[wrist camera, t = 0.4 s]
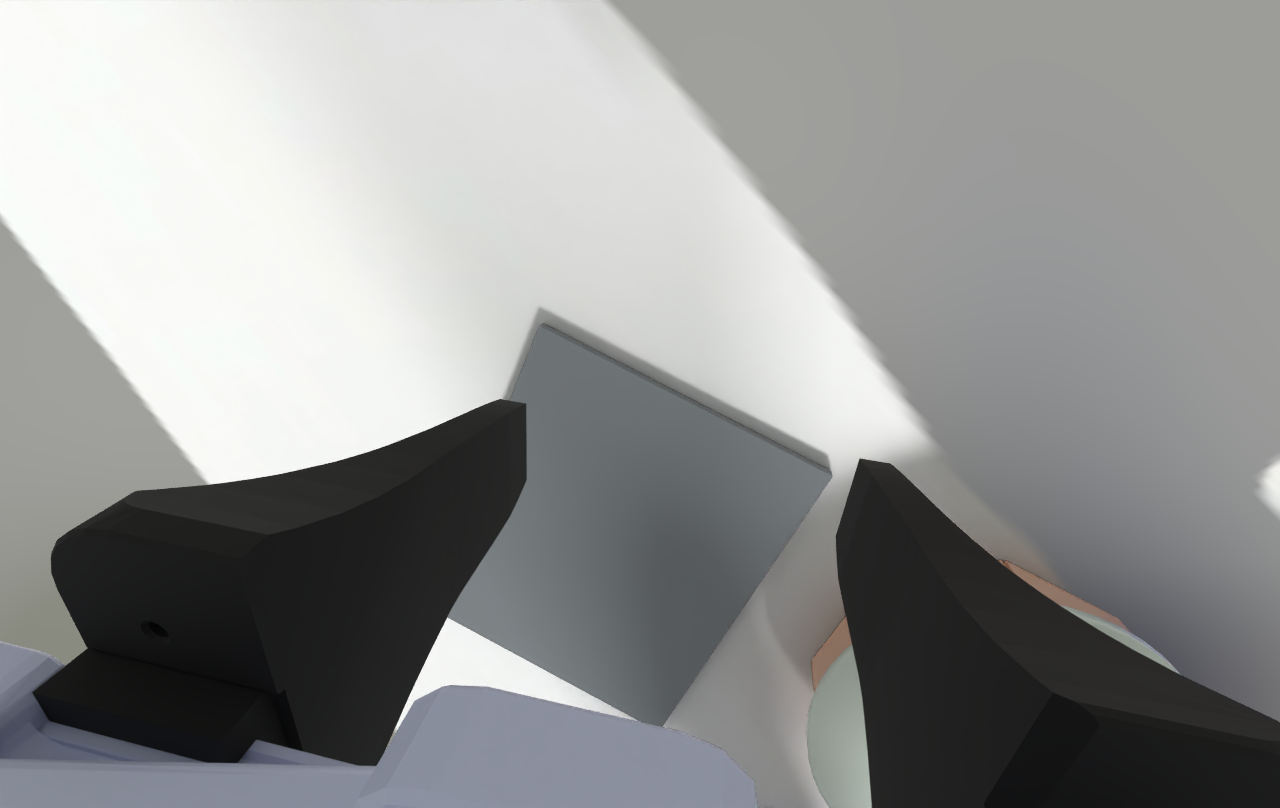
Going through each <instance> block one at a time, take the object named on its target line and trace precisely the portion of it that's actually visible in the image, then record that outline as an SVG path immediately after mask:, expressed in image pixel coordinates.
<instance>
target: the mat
mask: <svg viewBox="0 0 1280 808" xmlns="http://www.w3.org/2000/svg"><path fill="white" fill-rule="evenodd" d="M510 401H514V402H520V403H526V431H527V481H526V483H525V485H524V488H523V490H522V492H521V494H520V497H519V499H518V501H517V503H516V505H515V507H514V510H513V512H512V514H511V516H510V517H509V519H508V521H507V522H506V524H505V526H504V527H503V529H502V530H501V532H500V533H499V535H498V537H497V538H496V540H495V541H494V543H493V544H492V546H491V547H490V549H489V550H488V552H487V554H486V555H485V557H484V558H483V560H482V561H481V563H480V564H479V566H478V567H477V569H476V570H475V572H474V573H473V575H472V577H471V578H470V580H469V581H468V583H467V584H466V586H465V587H464V589H463V590H462V592H461V594H460V595H459V597H458V599H457V600H456V602H455V604H454V606H453V607H452V609H451V611H450V613H449V615H448V618H450V619H452V620H453V621H455V622H457V623H459V624H461V625H463V626H464V627H466V628H468V629H470V630H472V631H474V632H476V633H477V634H479V635H481V636H483V637H485V638H487V639H489V640H490V641H492V642H494V643H496V644H498V645H500V646H501V647H503V648H505V649H507V650H509V651H511V652H513V653H514V654H516V655H518V656H520V657H522V658H524V659H526V660H527V661H529V662H531V663H533V664H535V665H537V666H539V667H540V668H542V669H544V670H546V671H548V672H550V673H551V674H553V675H555V676H557V677H559V678H561V679H563V680H564V681H566V682H568V683H570V684H572V685H574V686H576V687H577V688H579V689H581V690H583V691H585V692H587V693H588V694H590V695H592V696H594V697H596V698H598V699H600V700H601V701H603V702H605V703H607V704H609V705H611V706H613V707H614V708H616V709H618V710H620V711H622V712H624V713H626V714H627V715H629V716H631V717H633V718H635V719H637V720H638V721H640V722H643V723H647V724H651V725H656V726H660V727H662V726H663V725H664V723H665V722H666V720H667V719H668V717H669V716H670V714H671V713H672V711H673V710H674V708H675V707H676V705H677V704H678V703H679V701H680V700H681V698H682V697H683V695H684V694H685V692H686V691H687V689H688V688H689V686H690V685H691V683H692V682H693V681H694V679H695V678H696V676H697V675H698V673H699V672H700V670H701V669H702V667H703V666H704V664H705V663H706V661H707V660H708V659H709V657H710V656H711V654H712V653H713V651H714V650H715V648H716V647H717V645H718V644H719V642H720V641H721V639H722V638H723V636H724V635H725V634H726V632H727V631H728V629H729V628H730V626H731V625H732V623H733V622H734V620H735V619H736V617H737V616H738V614H739V613H740V612H741V610H742V609H743V607H744V606H745V604H746V603H747V601H748V600H749V598H750V597H751V595H752V594H753V592H754V591H755V590H756V588H757V587H758V585H759V584H760V582H761V581H762V579H763V578H764V576H765V575H766V573H767V572H768V570H769V569H770V567H771V566H772V565H773V563H774V562H775V560H776V559H777V557H778V556H779V554H780V553H781V551H782V550H783V548H784V547H785V545H786V544H787V543H788V541H789V540H790V538H791V537H792V535H793V534H794V532H795V531H796V529H797V528H798V526H799V525H800V523H801V522H802V521H803V519H804V518H805V516H806V515H807V513H808V512H809V510H810V509H811V507H812V506H813V504H814V503H815V501H816V500H817V498H818V497H819V496H820V494H821V493H822V491H823V490H824V488H825V487H826V485H827V484H828V482H829V481H830V479H831V478H832V472H831V471H830V470H828V469H826V468H824V467H822V466H821V465H819V464H817V463H815V462H813V461H811V460H809V459H807V458H805V457H803V456H801V455H799V454H797V453H795V452H793V451H791V450H789V449H787V448H785V447H783V446H781V445H780V444H778V443H776V442H774V441H772V440H770V439H768V438H766V437H764V436H762V435H760V434H758V433H756V432H754V431H752V430H750V429H748V428H746V427H744V426H742V425H741V424H739V423H737V422H735V421H733V420H731V419H729V418H727V417H725V416H723V415H721V414H719V413H717V412H715V411H713V410H711V409H709V408H707V407H705V406H703V405H702V404H700V403H698V402H696V401H694V400H692V399H690V398H688V397H686V396H684V395H682V394H680V393H678V392H676V391H674V390H672V389H670V388H668V387H666V386H664V385H663V384H661V383H659V382H657V381H655V380H653V379H651V378H649V377H647V376H645V375H643V374H641V373H639V372H637V371H635V370H633V369H631V368H629V367H627V366H625V365H624V364H622V363H620V362H618V361H616V360H614V359H612V358H610V357H608V356H606V355H604V354H602V353H600V352H598V351H596V350H594V349H592V348H590V347H588V346H586V345H584V344H583V343H581V342H579V341H577V340H575V339H573V338H571V337H569V336H567V335H565V334H563V333H561V332H559V331H557V330H555V329H553V328H551V327H549V326H547V325H545V324H544V323H543V324H542V325H540V326H539V327H538V330H537V332H536V335H535V337H534V340H533V342H532V345H531V347H530V350H529V353H528V355H527V358H526V360H525V363H524V365H523V368H522V370H521V373H520V375H519V378H518V380H517V383H516V386H515V388H514V391H513V393H512V396H511V398H510Z"/></svg>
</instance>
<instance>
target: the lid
mask: <svg viewBox="0 0 1280 808" xmlns="http://www.w3.org/2000/svg"><path fill="white" fill-rule="evenodd" d="M1060 606H1062V605H1060ZM1062 607H1063V608H1065V609H1066V610H1068V611H1070V612H1071V613H1073V614H1074V615H1076V616H1078V617H1079V618H1081V619H1082V620H1084V621H1086V622H1087V623H1089V624H1090V625H1092V626H1094V627H1095V628H1097V629H1098V630H1100V631H1102V632H1103V633H1105V634H1107V635H1109V636H1110V637H1112V638H1114V639H1116V640H1117V641H1119V642H1121V643H1123V644H1124V645H1126V646H1128V647H1130V648H1131V649H1133V650H1135V651H1137V652H1139V653H1141V654H1142V655H1144V656H1146V657H1148V658H1150V659H1152V660H1154V661H1156V662H1157V663H1159V664H1161V665H1163V666H1165V667H1167V668H1169V669H1170V670H1172V671H1174V672H1176V673H1178V674H1180V673H1179V672H1178V671H1177V670H1176V669H1175V668H1174V667H1173V666H1172V665H1171V664H1170V663H1169V662H1168V661H1167V660H1166V659H1165V658H1164V656H1162V655H1161V654H1160V653H1158V652H1157V651H1156V650H1155V649H1154V648H1152V647H1151V646H1150V645H1148V644H1147V643H1146V642H1145V641H1143V640H1142V639H1140V638H1138V637H1137V636H1135V635H1133V634H1132V633H1130V632H1128V631H1127V630H1125V629H1123V628H1122V627H1120V626H1118V625H1115V624H1113V623H1111V622H1109V621H1106V620H1104V619H1102V618H1100V617H1097V616H1095V615H1092V614H1089V613H1086V612H1083V611H1079V610H1076V609H1073V608H1070V607H1067V606H1062ZM1180 675H1181V674H1180ZM807 744H808V755H809V762H810V766H811V770H812V774H813V778H814V780H815V782H816V784H817V787H818V789H819V791H820V793H821V795H822V797H823V798H824V800H825V802H826V803H827V805H828V806H829V808H872V803H871V790H870V778H869V765H868V752H867V741H866V731H865V721H864V711H863V701H862V694H861V688H860V681H859V675H858V671H857V666H856V661H855V657H854V652H853V647H852V644H851V645H850V646H849V647H847V648H846V649H845V650H844V651H843V652H842V653H841V654H840V655H839V656H838V657H837V658H836V660H835V661H834V662H833V663H832V664H831V665H830V667H829V668H828V669H827V671H826V672H825V674H824V675H823V677H822V678H821V680H820V682H819V684H818V686H817V688H816V690H815V692H814V695H813V697H812V700H811V704H810V708H809V712H808V719H807Z"/></svg>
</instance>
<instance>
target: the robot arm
mask: <svg viewBox="0 0 1280 808" xmlns="http://www.w3.org/2000/svg"><path fill="white" fill-rule="evenodd" d="M526 481H527V431H526V403H520V402H514V401H508V400H502V399H499V400H496V401H493V402H490V403H488V404H485V405H483V406H481V407H478V408H476V409H474V410H471V411H469V412H467V413H465V414H463V415H460V416H458V417H456V418H453V419H451V420H449V421H447V422H444V423H442V424H440V425H438V426H435V427H433V428H431V429H428V430H426V431H423V432H421V433H418V434H416V435H413V436H411V437H408V438H406V439H403V440H400V441H398V442H395V443H393V444H390V445H388V446H385V447H382V448H379V449H376V450H373V451H370V452H367V453H364V454H360V455H357V456H353V457H350V458H347V459H343V460H340V461H336V462H332V463H328V464H324V465H319V466H315V467H310V468H306V469H302V470H297V471H293V472H288V473H284V474H278V475H273V476H267V477H261V478H255V479H249V480H242V481H235V482H228V483H220V484H212V485H202V486H192V487H180V488H168V489H157V490H142V491H135V492H133V493H131V494H130V495H128V496H126V497H125V498H123V499H122V500H120V501H118V502H117V503H115V504H113V505H112V506H110V507H109V508H107V509H105V510H104V511H102V512H100V513H99V514H97V515H95V516H94V517H92V518H90V519H89V520H87V521H85V522H84V523H82V524H80V525H79V526H77V527H76V528H74V529H72V530H70V531H69V532H67V533H66V534H65V535H63V536H62V537H61V538H59V539H58V540H57V541H56V544H55V546H54V548H53V551H52V554H51V570H52V571H51V572H52V576H53V578H54V581H55V584H56V587H57V589H58V592H59V593H60V595H61V597H62V599H63V601H64V603H65V605H66V607H67V609H68V611H69V613H70V615H71V617H72V619H73V621H74V623H75V625H76V627H77V629H78V631H79V632H80V634H81V636H82V638H83V640H84V642H85V644H86V646H87V647H88V649H86V650H85V651H84V652H83V653H81V654H80V655H79V656H77V657H76V658H75V659H74V660H72V661H71V662H70V663H69V664H68V665H66V666H65V665H64V664H63V663H62V662H61V661H59V660H58V659H56V658H55V657H54V656H52V655H49V654H47V653H44V652H42V651H37V650H34V649H30V648H26V647H22V646H18V645H13V644H9V643H5V642H1V641H0V808H758V803H757V796H756V789H755V782H754V781H753V780H752V779H751V778H750V777H749V776H748V775H747V774H746V773H745V772H744V771H743V770H742V769H741V768H740V767H739V766H738V765H737V764H736V763H735V762H734V761H733V760H732V759H731V758H730V757H729V756H728V755H727V754H726V753H725V752H724V751H723V750H722V749H721V748H720V747H717V746H715V745H713V744H710V743H708V742H705V741H703V740H700V739H698V738H696V737H693V736H691V735H688V734H686V733H683V732H681V731H677V730H673V729H669V728H664V727H660V726H656V725H651V724H647V723H643V722H638V721H634V720H630V719H625V718H621V717H617V716H612V715H608V714H604V713H599V712H595V711H591V710H586V709H582V708H578V707H573V706H569V705H565V704H560V703H556V702H551V701H547V700H543V699H538V698H534V697H530V696H525V695H521V694H517V693H512V692H508V691H504V690H499V689H495V688H491V687H480V686H457V685H450V686H444V687H441V688H439V689H437V690H435V691H433V692H431V693H429V694H427V695H425V696H423V697H421V698H419V699H417V700H415V701H414V703H413V705H412V706H411V708H410V710H409V712H408V713H407V715H406V717H405V718H404V720H403V722H402V723H401V725H400V727H399V729H398V730H397V732H396V734H395V736H394V737H393V739H392V740H391V742H390V744H389V746H388V747H387V745H388V742H389V740H390V738H391V736H392V733H393V731H394V729H395V727H396V724H397V722H398V720H399V718H400V715H401V713H402V711H403V709H404V706H405V704H406V702H407V700H408V697H409V695H410V693H411V691H412V689H413V686H414V684H415V682H416V680H417V678H418V676H419V674H420V672H421V670H422V667H423V665H424V663H425V661H426V659H427V657H428V655H429V653H430V651H431V649H432V647H433V645H434V643H435V641H436V639H437V637H438V635H439V633H440V631H441V629H442V627H443V625H444V623H445V621H446V619H447V617H448V615H449V613H450V611H451V609H452V607H453V606H454V604H455V602H456V600H457V599H458V597H459V595H460V594H461V592H462V590H463V589H464V587H465V586H466V584H467V583H468V581H469V580H470V578H471V577H472V575H473V573H474V572H475V570H476V569H477V567H478V566H479V564H480V563H481V561H482V560H483V558H484V557H485V555H486V554H487V552H488V550H489V549H490V547H491V546H492V544H493V543H494V541H495V540H496V538H497V537H498V535H499V533H500V532H501V530H502V529H503V527H504V526H505V524H506V522H507V521H508V519H509V517H510V516H511V514H512V512H513V510H514V507H515V505H516V503H517V501H518V499H519V497H520V494H521V492H522V490H523V488H524V485H525V483H526ZM836 551H837V567H838V579H839V584H840V590H841V595H842V599H843V604H844V609H845V614H846V619H847V624H848V628H849V633H850V638H851V642H852V647H853V652H854V657H855V661H856V666H857V671H858V675H859V681H860V688H861V694H862V701H863V711H864V721H865V731H866V741H867V752H868V765H869V778H870V790H871V803H872V808H1280V723H1279V722H1278V721H1277V720H1274V719H1272V718H1270V717H1268V716H1266V715H1264V714H1262V713H1260V712H1258V711H1255V710H1253V709H1251V708H1249V707H1247V706H1245V705H1243V704H1241V703H1238V702H1236V701H1234V700H1232V699H1230V698H1228V697H1226V696H1224V695H1221V694H1219V693H1217V692H1215V691H1213V690H1211V689H1209V688H1207V687H1205V686H1203V685H1200V684H1198V683H1196V682H1194V681H1192V680H1190V679H1188V678H1186V677H1184V676H1182V675H1180V674H1178V673H1176V672H1174V671H1172V670H1170V669H1169V668H1167V667H1165V666H1163V665H1161V664H1159V663H1157V662H1156V661H1154V660H1152V659H1150V658H1148V657H1146V656H1144V655H1142V654H1141V653H1139V652H1137V651H1135V650H1133V649H1131V648H1130V647H1128V646H1126V645H1124V644H1123V643H1121V642H1119V641H1117V640H1116V639H1114V638H1112V637H1110V636H1109V635H1107V634H1105V633H1103V632H1102V631H1100V630H1098V629H1097V628H1095V627H1094V626H1092V625H1090V624H1089V623H1087V622H1086V621H1084V620H1082V619H1081V618H1079V617H1078V616H1076V615H1074V614H1073V613H1071V612H1070V611H1068V610H1066V609H1065V608H1063V607H1062V606H1060V605H1059V604H1057V603H1056V602H1054V601H1053V600H1051V599H1050V598H1048V597H1047V596H1045V595H1044V594H1042V593H1041V592H1039V591H1038V590H1037V589H1035V588H1034V587H1032V586H1031V585H1030V584H1028V583H1027V582H1026V581H1024V580H1023V579H1021V578H1020V577H1019V576H1017V575H1016V574H1015V573H1013V572H1012V571H1010V570H1009V569H1008V568H1006V567H1005V566H1004V565H1003V564H1001V563H1000V562H999V561H997V560H996V559H995V558H994V557H993V556H991V555H990V554H989V553H988V552H987V551H985V550H984V549H983V548H982V547H981V546H979V545H978V544H977V543H976V542H975V541H973V540H972V539H971V538H970V537H969V536H968V535H967V534H965V533H964V532H963V531H962V530H961V529H960V528H959V527H958V526H956V525H955V524H954V523H953V522H952V521H951V520H950V519H949V518H948V517H947V516H946V515H945V514H943V513H942V512H941V511H940V510H939V509H938V508H937V507H936V506H935V505H934V504H933V503H932V502H931V501H930V500H929V499H928V498H927V497H926V496H925V495H924V494H923V493H922V492H921V491H920V490H919V489H917V488H916V487H915V486H914V485H913V484H912V483H911V482H910V481H909V480H908V479H907V478H906V477H905V476H904V475H903V474H902V473H901V472H900V471H899V470H897V469H896V468H895V467H894V466H893V465H891V464H889V463H883V462H877V461H871V460H865V459H859V463H858V466H857V469H856V472H855V476H854V479H853V482H852V485H851V489H850V492H849V495H848V498H847V502H846V505H845V508H844V511H843V515H842V518H841V521H840V524H839V528H838V531H837V534H836ZM386 747H387V749H386ZM385 750H386V751H385Z"/></svg>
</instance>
